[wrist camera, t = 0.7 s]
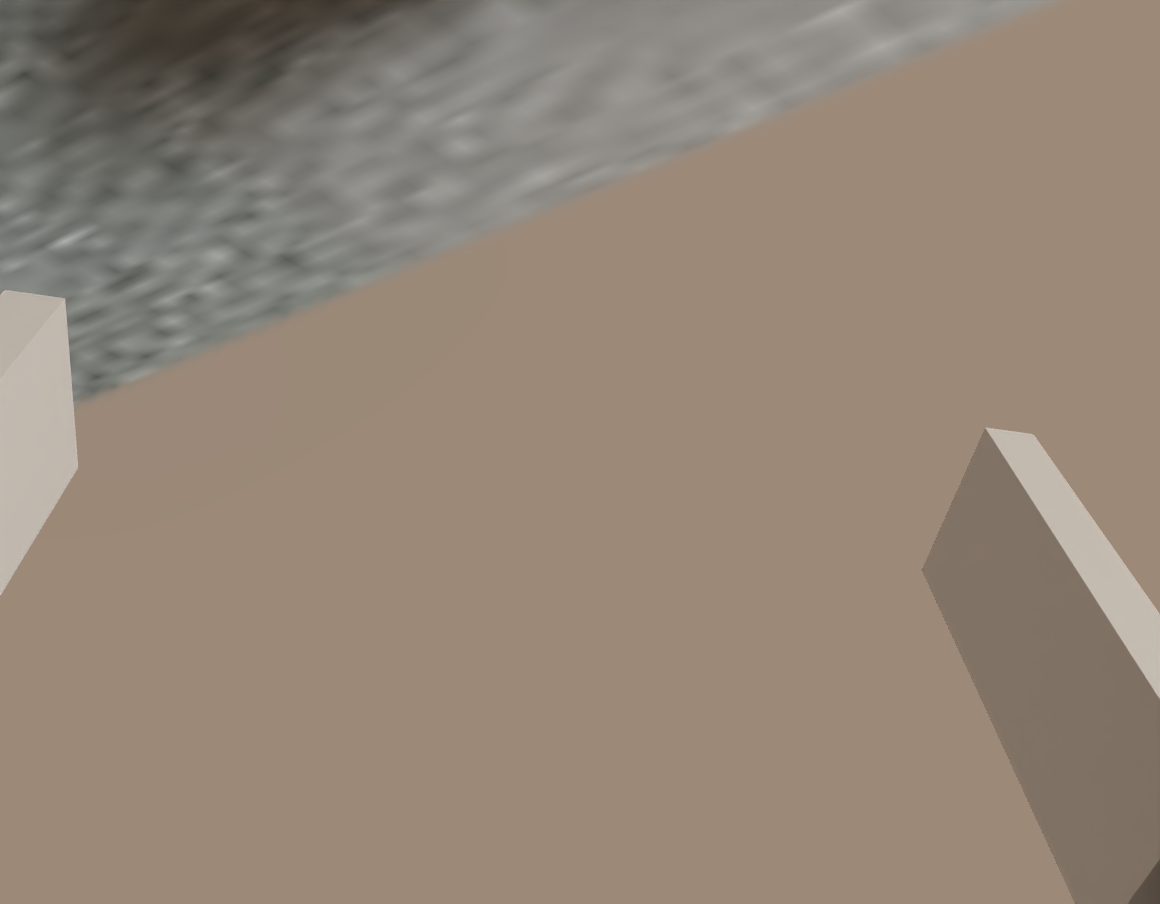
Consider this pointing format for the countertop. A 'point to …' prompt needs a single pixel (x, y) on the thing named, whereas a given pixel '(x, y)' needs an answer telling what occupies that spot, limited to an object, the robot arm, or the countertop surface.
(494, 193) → the countertop surface
